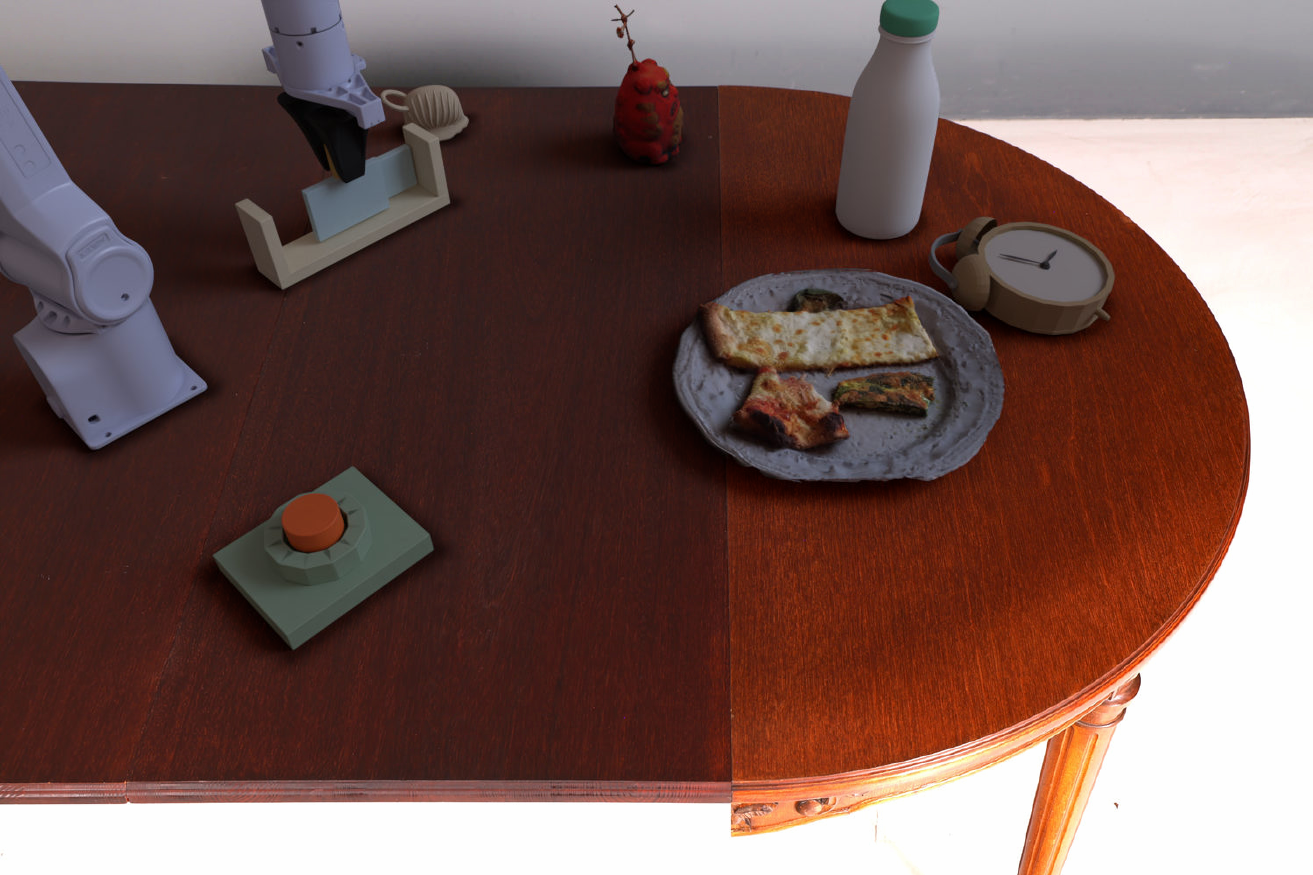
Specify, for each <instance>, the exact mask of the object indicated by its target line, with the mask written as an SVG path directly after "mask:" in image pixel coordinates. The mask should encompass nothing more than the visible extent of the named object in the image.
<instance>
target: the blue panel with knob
mask: <svg viewBox="0 0 1313 875" xmlns="http://www.w3.org/2000/svg"><path fill="white" fill-rule="evenodd" d="M324 147H325V151H326V155H327V159H328V162H329V166H330V173H331V176H330V177H328V178H325V179H324V180H321V181H319V182H317V183H314V184H313V185H310V186H308V187H306V188H303V189H302V190H301V195H302V199H303V202H304V205H305V209H306V212H307V216H308V218H309V221H310V224H311V228H312V232H314V235H315V238H316V239H317V240H318V241H320V242H321V241H323V240H325V239H327V238H329V237H331V236H333V235H335V234H337V233H339V232H341V231H343V230H345V229H347V228H349V227H351V226H353V225H355V224H357V223H359V222H361V221H363V220H365V219H367V218H369V217H371V216H373V215H375V214H377V213H379V212H381V211H383V210H385V209H387V208H389V207H390V205H389V201H388V196H387V192H386V188H385V183H384V179H383V175H382V170H381V166H380V161H379V159H377V158H376V157H377V156H372V157H370V158H368V159H366V164H365V175H364V176H362V177H360V178H357V179H355V180H353V181H351V182H349V183H344V182H343V181H342V180H341V179H340V177H339V176H338V174H337V172H336V170H335V168H334V165H333V163H332V160H331V157H330V155H329V152H328V150H327V148H326V146H325V144H324Z"/></svg>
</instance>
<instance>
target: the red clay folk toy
mask: <svg viewBox="0 0 1313 875" xmlns="http://www.w3.org/2000/svg"><path fill="white" fill-rule="evenodd" d="M613 7H614V8H615V9H616V11H617V12H618V13H619V14H620V18H612V19H611V20H610V21H611V22H619V21H621V23H622V25H621V27H620V26H617V27H616V30H615V33H616V36H617V38H619V39H623V38H624V36H625V32H626V36H627V44H626V47H627V49H628V50H629V51H630V53H631V58H632V62H631V63H630V64H629V65H628V67H627V70H626V73H625V74H624V76H623V78H622V79H621V83H620V86H619V88H618V92H617V94H616V96H615V102H614V115H613V118H612V123H613V125H612V133H613V136H614V143H615V145H616V147H618V148H619V149H621V150H622V151H623V153H624V154H625V155H626V156H627V157H629V158H630V159H631V160H634V161H636V162H637V163H639V164H646V163H647V162H649V163H650V165H654V166H657V165H664V164H665V163H666V162H667V161H668V160H669V159H671V158H674V157H675V156H678V155H679V152H680V147H679V146H680V145H681V143H682V138H683V137H682V132H683V129H684V120H683V119H684V111H683V108H682V107H681V102H680V99H679V92H678V89H677V87H676V86H675V85H674V84H673V83H672V81H671V79H670V73H669V71H668V70H667V68H666V67H664V66H660V65H658V62H657V61H656V59H652V58H650V57H648V58H645V59H643V60H642V61H638V59H637V57H636V54H635V51H634V48H633V46H634V45H635V43H636V40H634V39H632V38H631V36H630V32H629V28H628V24H627V23H628V20H629V19H628V18H629V17H630V16H632V15H633V14H634V12H635V9H632V10H631V12H629V13H628V14H625V13H624V12H623V10H622V9H621V8H620V6H619V5H618V4H617V3H616V4H615V5H613Z"/></svg>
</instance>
